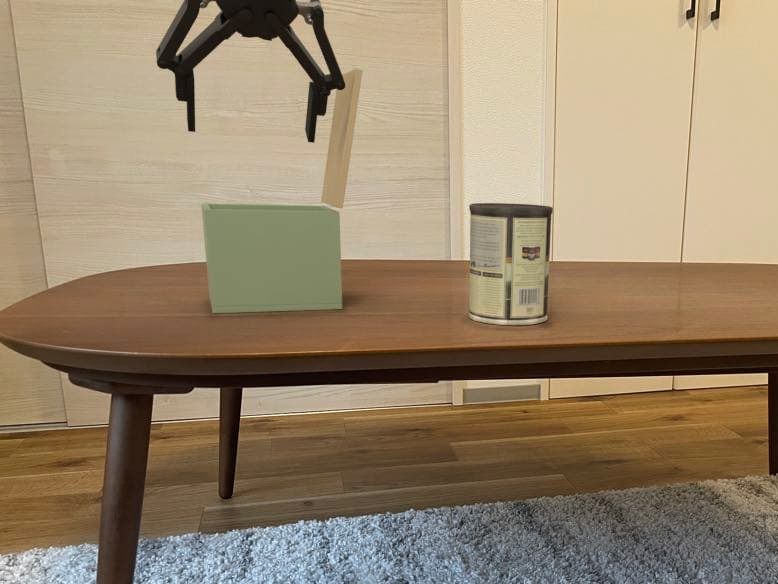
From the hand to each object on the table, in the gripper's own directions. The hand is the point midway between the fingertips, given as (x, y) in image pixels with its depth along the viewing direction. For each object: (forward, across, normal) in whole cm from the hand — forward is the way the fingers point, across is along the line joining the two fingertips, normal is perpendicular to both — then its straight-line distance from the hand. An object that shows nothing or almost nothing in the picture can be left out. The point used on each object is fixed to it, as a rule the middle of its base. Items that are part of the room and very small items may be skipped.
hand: (252, 131), depth 94 cm
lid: (+1, +10, +1) cm, 10 cm away
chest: (+19, +2, -10) cm, 21 cm away
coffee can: (+9, +29, -24) cm, 39 cm away
